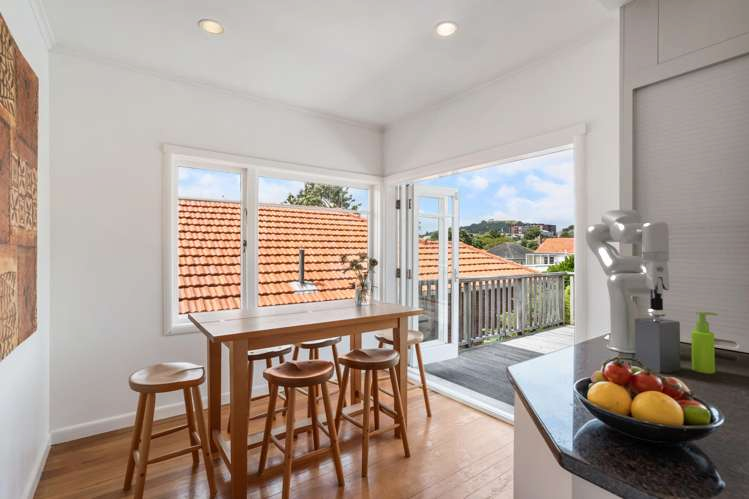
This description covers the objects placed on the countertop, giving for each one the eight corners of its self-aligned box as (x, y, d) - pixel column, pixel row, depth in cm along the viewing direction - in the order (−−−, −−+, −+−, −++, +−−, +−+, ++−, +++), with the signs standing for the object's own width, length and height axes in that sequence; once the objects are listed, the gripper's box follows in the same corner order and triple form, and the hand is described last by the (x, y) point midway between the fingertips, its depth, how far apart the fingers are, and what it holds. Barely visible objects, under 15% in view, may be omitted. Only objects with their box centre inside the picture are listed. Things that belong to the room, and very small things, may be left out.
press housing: (635, 365, 135) (634, 318, 135) (655, 362, 137) (654, 317, 137) (659, 373, 126) (659, 323, 126) (680, 370, 128) (679, 321, 128)
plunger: (641, 361, 134) (640, 308, 134) (655, 360, 135) (654, 307, 135) (659, 367, 128) (658, 311, 128) (673, 365, 129) (672, 310, 129)
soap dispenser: (722, 374, 124) (721, 313, 124) (698, 373, 126) (697, 313, 125) (710, 368, 130) (709, 310, 130) (688, 367, 131) (687, 310, 131)
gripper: (675, 257, 123) (676, 313, 123) (662, 256, 137) (663, 307, 137) (647, 257, 126) (648, 312, 126) (638, 257, 140) (639, 306, 140)
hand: (656, 309), depth 131 cm, fingers closed
